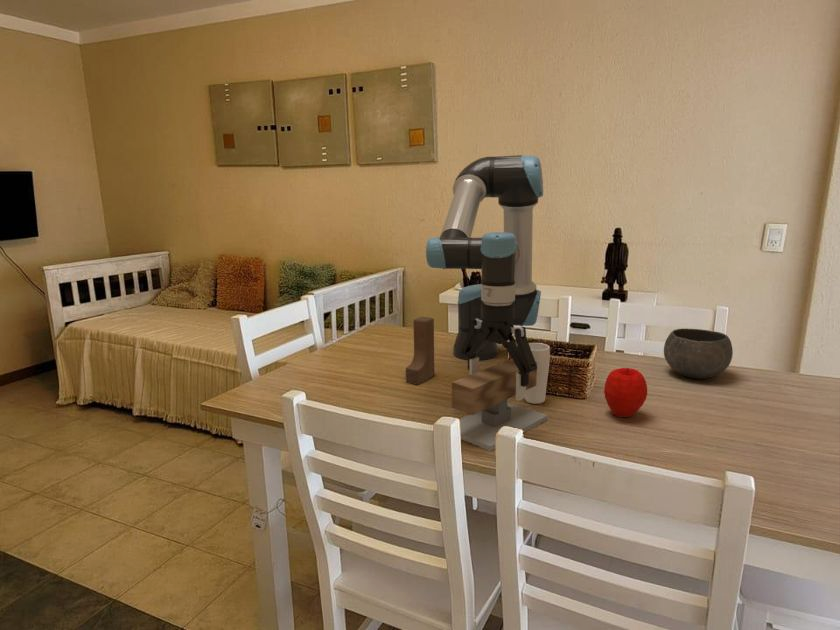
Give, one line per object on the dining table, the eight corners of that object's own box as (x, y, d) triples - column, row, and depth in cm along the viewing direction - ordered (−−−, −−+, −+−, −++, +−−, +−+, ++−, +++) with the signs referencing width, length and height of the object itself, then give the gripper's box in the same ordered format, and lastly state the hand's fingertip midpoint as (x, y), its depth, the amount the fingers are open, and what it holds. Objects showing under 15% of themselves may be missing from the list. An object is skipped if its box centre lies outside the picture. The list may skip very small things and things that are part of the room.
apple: (640, 427, 127) (644, 377, 124) (597, 418, 132) (600, 371, 129) (648, 412, 135) (652, 365, 132) (607, 404, 140) (610, 359, 137)
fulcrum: (501, 404, 142) (501, 376, 140) (547, 419, 132) (548, 390, 130) (442, 431, 127) (442, 401, 125) (490, 451, 117) (490, 418, 115)
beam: (516, 379, 137) (516, 357, 136) (536, 385, 133) (536, 362, 132) (452, 407, 121) (451, 382, 120) (472, 415, 117) (472, 388, 116)
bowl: (662, 381, 155) (666, 339, 152) (661, 362, 171) (664, 323, 168) (733, 389, 148) (739, 345, 145) (725, 368, 165) (730, 328, 162)
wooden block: (418, 385, 156) (416, 324, 152) (405, 382, 159) (403, 322, 155) (435, 375, 164) (434, 317, 159) (422, 373, 166) (421, 316, 162)
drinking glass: (549, 397, 145) (551, 343, 142) (546, 407, 139) (548, 351, 136) (523, 394, 148) (525, 341, 144) (519, 404, 141) (521, 349, 138)
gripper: (445, 297, 128) (446, 382, 133) (535, 313, 111) (532, 410, 116) (466, 292, 133) (466, 374, 138) (555, 307, 116) (551, 400, 121)
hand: (496, 391), depth 127 cm, fingers open, 13 cm apart
